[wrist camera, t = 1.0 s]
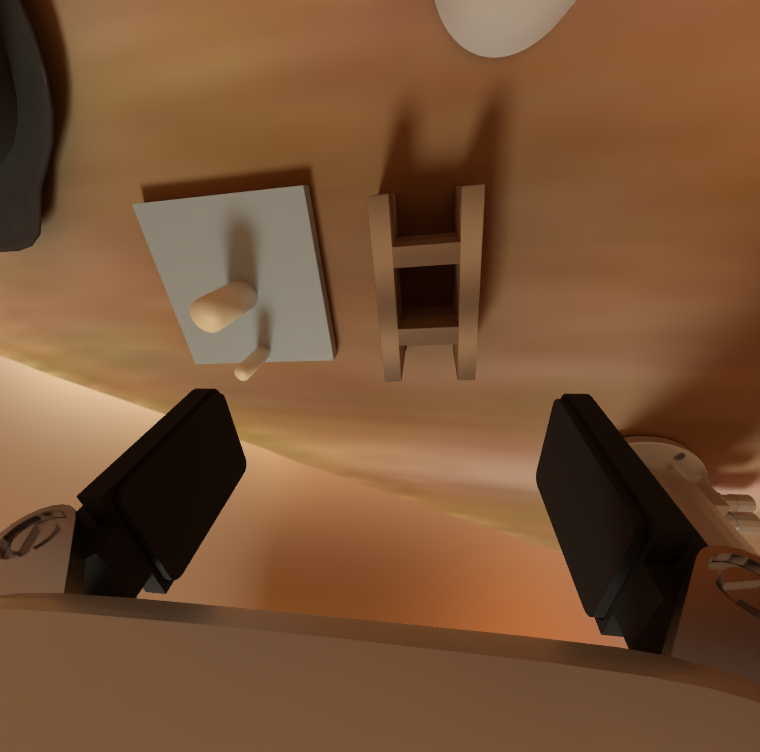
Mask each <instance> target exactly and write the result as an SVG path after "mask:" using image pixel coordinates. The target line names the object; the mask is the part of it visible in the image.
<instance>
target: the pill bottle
mask: <svg viewBox="0 0 760 752" xmlns="http://www.w3.org/2000/svg"><path fill="white" fill-rule="evenodd" d="M434 1H435V4H436V7H437V10H438V13H439V16H440V18H441V20H442V22H443V24H444V26H445V28H446V29H447V31H448V32H449V34H450V35H451V36H452V37H453V39H454V40H455V41H456V42H457V43H458V44H459V45H461V46H462V47H463V48H465V49H466V50H468V51H470V52H472V53H474V54H476V55H479V56H483V57H491V58H497V57H505V56H509V55H513V54H516V53H518V52H520V51H523V50H525V49H526V48H528V47H530V46H531V45H533V44H534V43H536V42H537V41H539V40H540V39H541V38H542V37H544V36H545V35H546V34H547V33H548V32H549V31H550V30H551V29H553V28H554V27H555V25H556V24H557V23H558V22H559V21H560V20H561V19H562V18H563V16H564V15H565V14H566V13H567V11H568V10H569V9H570V8H571V6H572V5H573V4H574V3H575V1H576V0H434Z"/></svg>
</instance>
